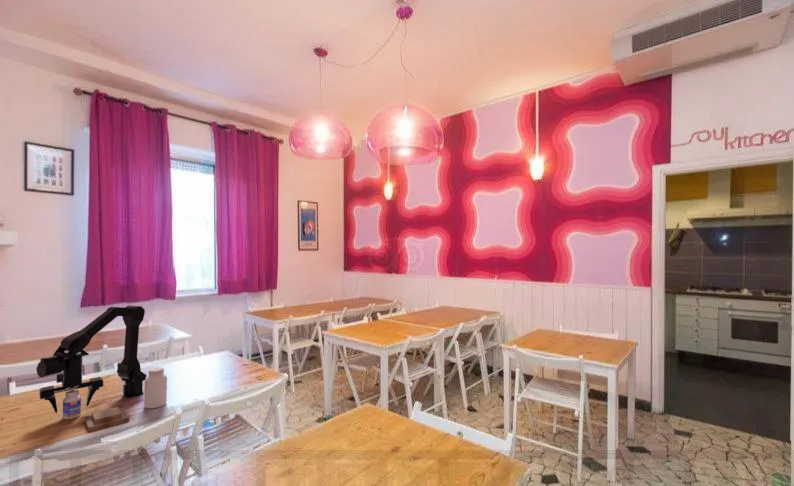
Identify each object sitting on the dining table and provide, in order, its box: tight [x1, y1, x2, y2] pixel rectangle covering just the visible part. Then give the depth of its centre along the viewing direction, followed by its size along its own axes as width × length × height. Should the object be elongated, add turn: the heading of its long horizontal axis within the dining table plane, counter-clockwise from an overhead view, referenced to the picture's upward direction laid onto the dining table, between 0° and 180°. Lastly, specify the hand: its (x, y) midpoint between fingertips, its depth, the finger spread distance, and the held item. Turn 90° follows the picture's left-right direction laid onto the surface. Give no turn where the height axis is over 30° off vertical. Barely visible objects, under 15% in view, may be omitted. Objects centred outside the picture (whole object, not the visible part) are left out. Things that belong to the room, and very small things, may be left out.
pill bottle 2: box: [143, 367, 168, 410], centre depth 161 cm, size 8×8×15 cm
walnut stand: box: [84, 406, 130, 432], centre depth 146 cm, size 12×12×3 cm
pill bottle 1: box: [62, 389, 82, 420], centre depth 149 cm, size 5×5×10 cm
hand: (72, 409), depth 149 cm, fingers open, 9 cm apart
